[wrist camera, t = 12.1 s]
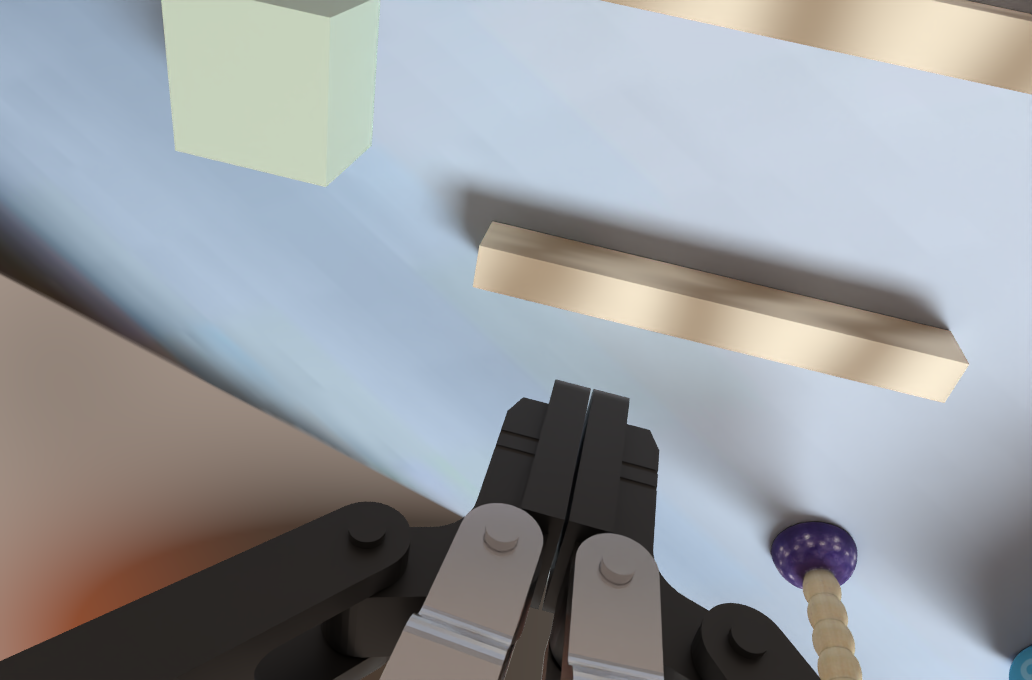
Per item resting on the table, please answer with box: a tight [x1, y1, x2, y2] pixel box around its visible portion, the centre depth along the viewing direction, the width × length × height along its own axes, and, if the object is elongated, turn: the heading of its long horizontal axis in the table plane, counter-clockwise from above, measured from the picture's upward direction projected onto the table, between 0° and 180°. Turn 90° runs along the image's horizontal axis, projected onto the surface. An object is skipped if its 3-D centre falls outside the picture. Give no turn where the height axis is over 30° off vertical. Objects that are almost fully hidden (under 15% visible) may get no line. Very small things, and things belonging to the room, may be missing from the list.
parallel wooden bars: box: [473, 0, 1032, 403], centre depth 28 cm, size 20×14×2 cm
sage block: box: [161, 0, 380, 187], centre depth 28 cm, size 6×6×5 cm
